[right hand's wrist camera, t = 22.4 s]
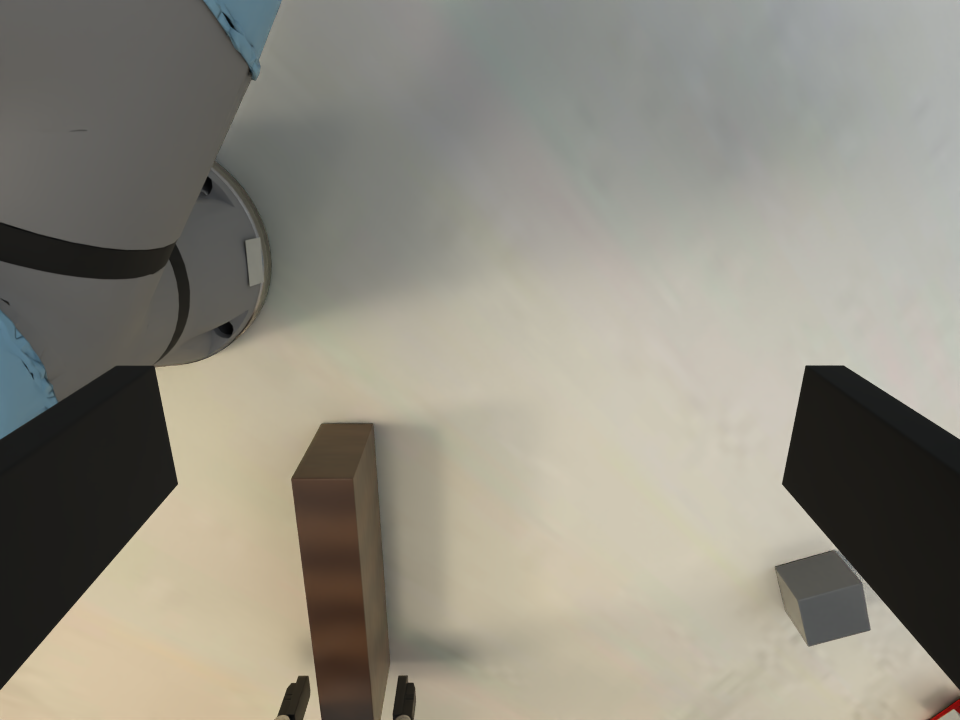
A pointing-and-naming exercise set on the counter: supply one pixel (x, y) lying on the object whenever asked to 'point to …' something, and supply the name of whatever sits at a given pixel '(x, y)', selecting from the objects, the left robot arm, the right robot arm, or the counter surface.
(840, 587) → the slate block
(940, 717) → the toy
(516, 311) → the counter surface
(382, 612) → the walnut bar
